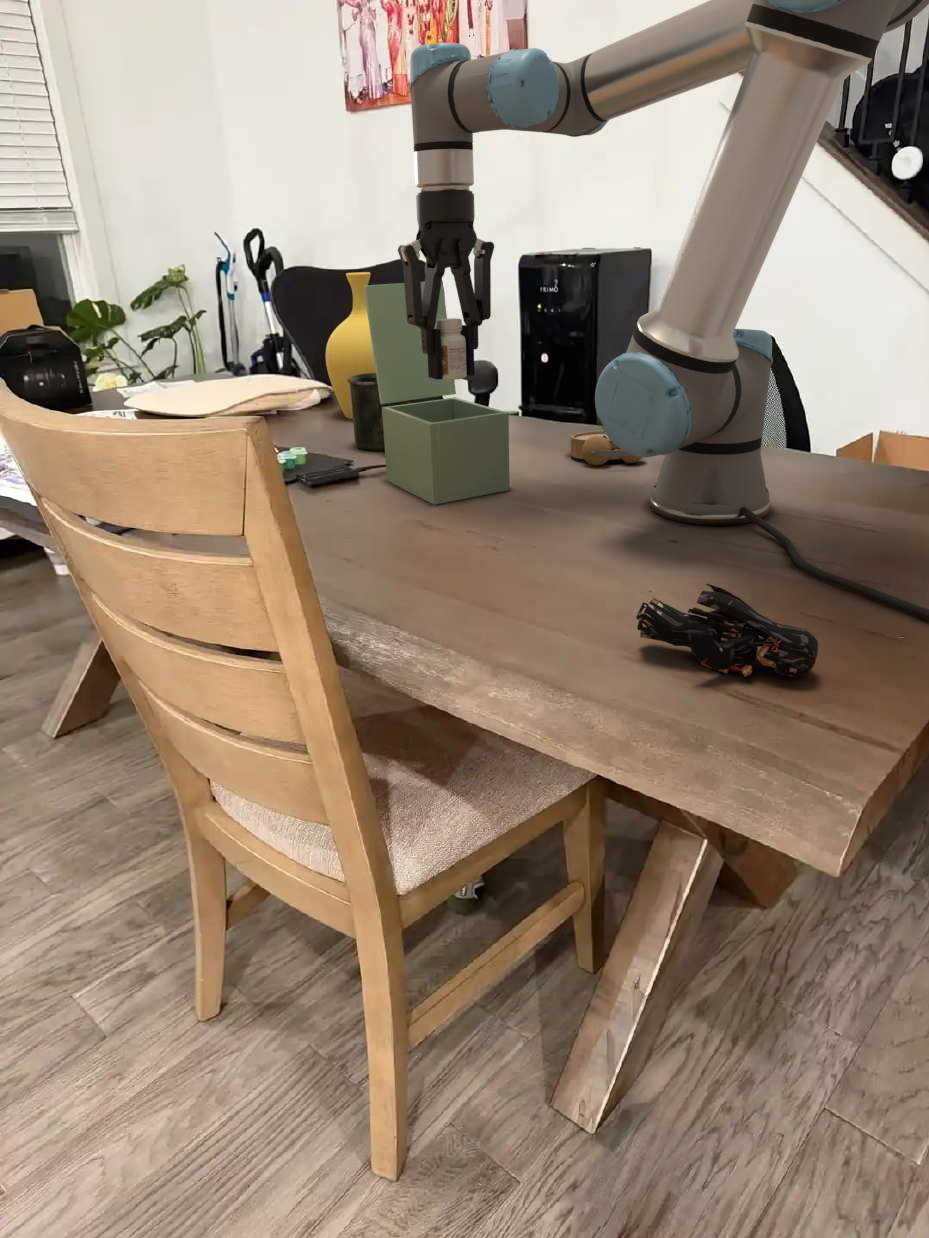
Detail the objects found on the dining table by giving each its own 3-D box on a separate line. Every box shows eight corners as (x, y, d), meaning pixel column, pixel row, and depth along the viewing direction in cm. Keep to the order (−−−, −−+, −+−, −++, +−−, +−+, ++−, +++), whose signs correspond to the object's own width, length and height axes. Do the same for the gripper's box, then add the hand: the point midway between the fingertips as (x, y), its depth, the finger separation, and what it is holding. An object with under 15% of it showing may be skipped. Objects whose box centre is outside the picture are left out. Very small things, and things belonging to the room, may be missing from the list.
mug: (408, 436, 159) (404, 370, 154) (419, 453, 146) (415, 383, 141) (350, 440, 157) (345, 374, 152) (357, 458, 144) (350, 387, 139)
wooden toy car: (626, 429, 145) (656, 431, 131) (626, 458, 146) (657, 463, 132) (562, 433, 144) (586, 436, 129) (563, 462, 145) (587, 468, 131)
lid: (442, 280, 127) (440, 281, 127) (365, 285, 121) (363, 286, 122) (456, 394, 131) (453, 394, 132) (382, 404, 126) (380, 404, 126)
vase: (373, 405, 190) (363, 270, 178) (422, 412, 179) (415, 270, 168) (315, 417, 179) (300, 275, 168) (364, 426, 169) (352, 275, 157)
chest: (509, 490, 124) (508, 412, 119) (434, 505, 118) (429, 424, 114) (457, 468, 136) (455, 397, 132) (387, 481, 131) (381, 407, 126)
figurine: (621, 643, 70) (811, 686, 65) (643, 557, 71) (833, 592, 66) (635, 661, 78) (805, 700, 73) (655, 583, 79) (824, 616, 74)
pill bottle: (430, 377, 119) (428, 319, 116) (458, 374, 121) (457, 317, 118) (443, 381, 116) (440, 322, 113) (471, 378, 117) (470, 319, 114)
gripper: (487, 190, 115) (490, 367, 125) (370, 192, 108) (383, 379, 117) (517, 187, 109) (518, 373, 119) (396, 188, 102) (407, 386, 111)
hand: (451, 376), depth 118 cm, fingers closed on pill bottle, 4 cm apart
